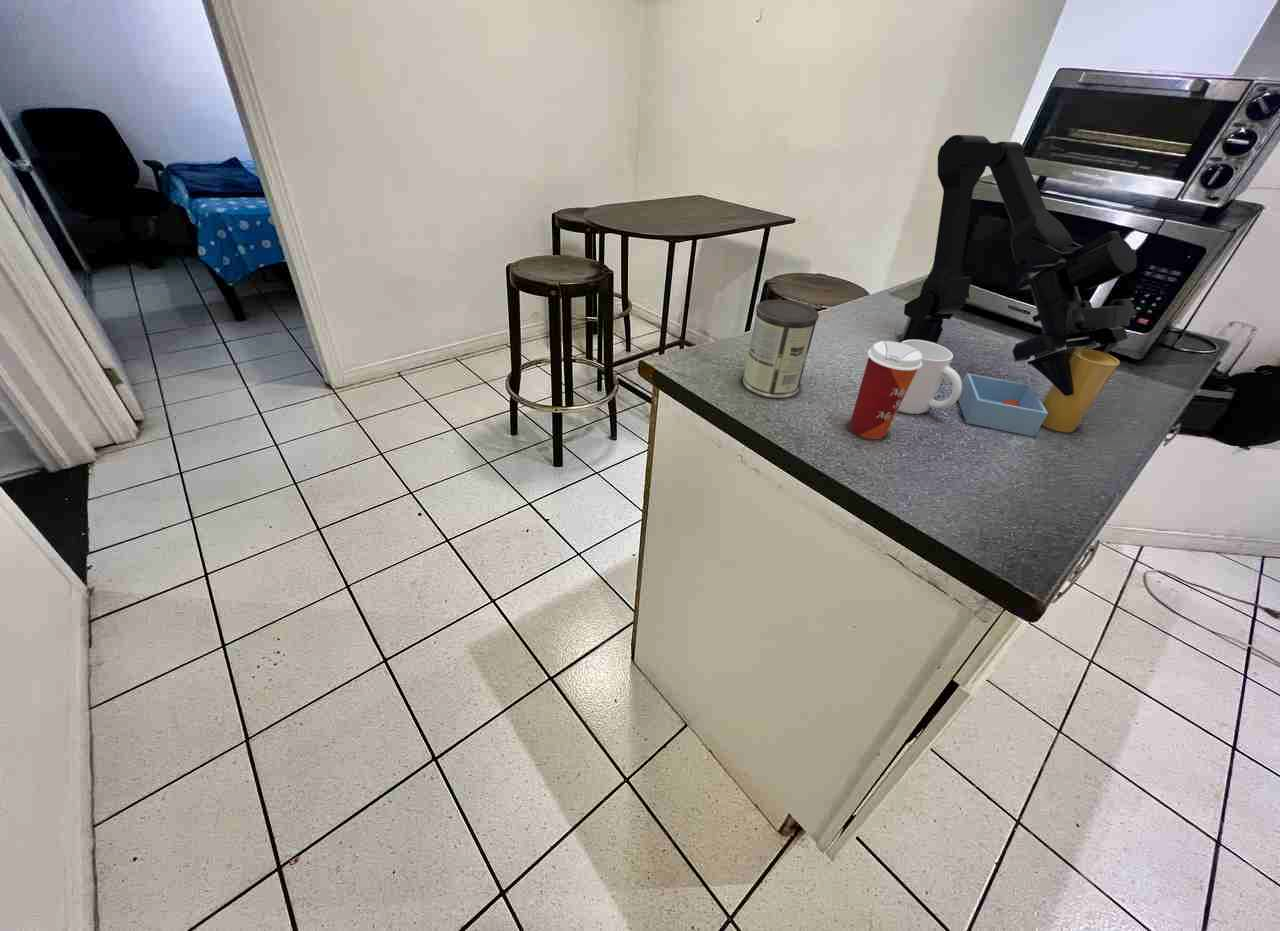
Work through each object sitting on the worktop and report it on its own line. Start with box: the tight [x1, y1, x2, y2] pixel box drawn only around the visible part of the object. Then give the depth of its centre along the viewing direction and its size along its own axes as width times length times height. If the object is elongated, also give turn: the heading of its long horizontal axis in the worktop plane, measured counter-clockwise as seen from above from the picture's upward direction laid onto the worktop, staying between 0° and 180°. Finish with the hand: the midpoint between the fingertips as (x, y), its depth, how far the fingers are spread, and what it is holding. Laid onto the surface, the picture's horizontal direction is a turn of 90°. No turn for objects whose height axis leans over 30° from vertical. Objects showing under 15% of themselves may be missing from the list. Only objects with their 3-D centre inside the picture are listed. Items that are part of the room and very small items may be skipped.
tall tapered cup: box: [1041, 348, 1121, 433], centre depth 87 cm, size 6×6×12 cm
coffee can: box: [742, 299, 820, 399], centre depth 92 cm, size 10×10×14 cm
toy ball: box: [1002, 399, 1020, 407], centre depth 90 cm, size 3×3×3 cm
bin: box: [957, 373, 1048, 437], centre depth 91 cm, size 10×10×4 cm
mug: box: [897, 340, 963, 415], centre depth 89 cm, size 12×8×10 cm
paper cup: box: [849, 340, 922, 440], centre depth 81 cm, size 8×8×14 cm
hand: (1083, 392), depth 86 cm, fingers closed on tall tapered cup, 6 cm apart
